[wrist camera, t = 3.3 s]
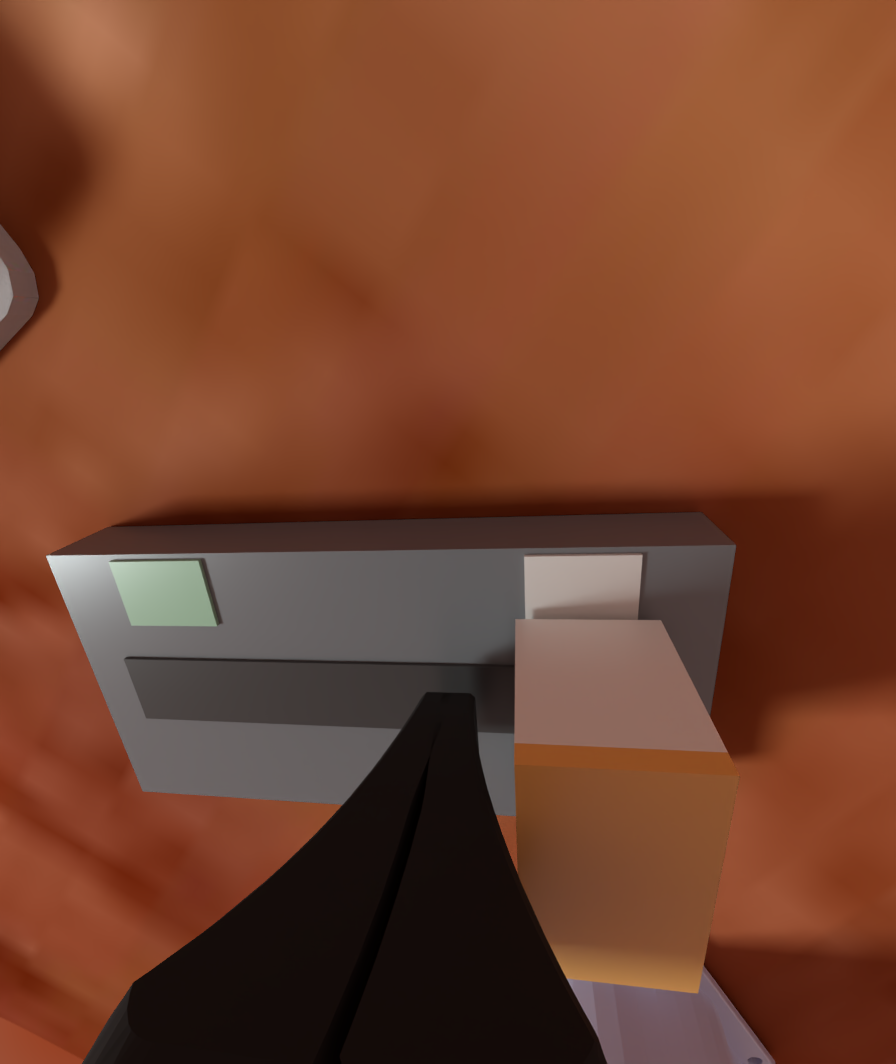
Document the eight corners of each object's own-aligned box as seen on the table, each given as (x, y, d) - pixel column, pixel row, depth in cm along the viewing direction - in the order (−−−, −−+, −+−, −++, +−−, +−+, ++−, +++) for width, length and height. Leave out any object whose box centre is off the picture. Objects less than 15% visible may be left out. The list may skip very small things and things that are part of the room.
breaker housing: (701, 511, 12) (738, 546, 10) (670, 765, 14) (694, 831, 13) (108, 526, 14) (41, 557, 12) (183, 741, 17) (140, 793, 15)
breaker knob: (660, 619, 10) (740, 776, 6) (643, 795, 12) (697, 993, 8) (515, 618, 11) (514, 764, 7) (520, 788, 12) (521, 973, 9)
